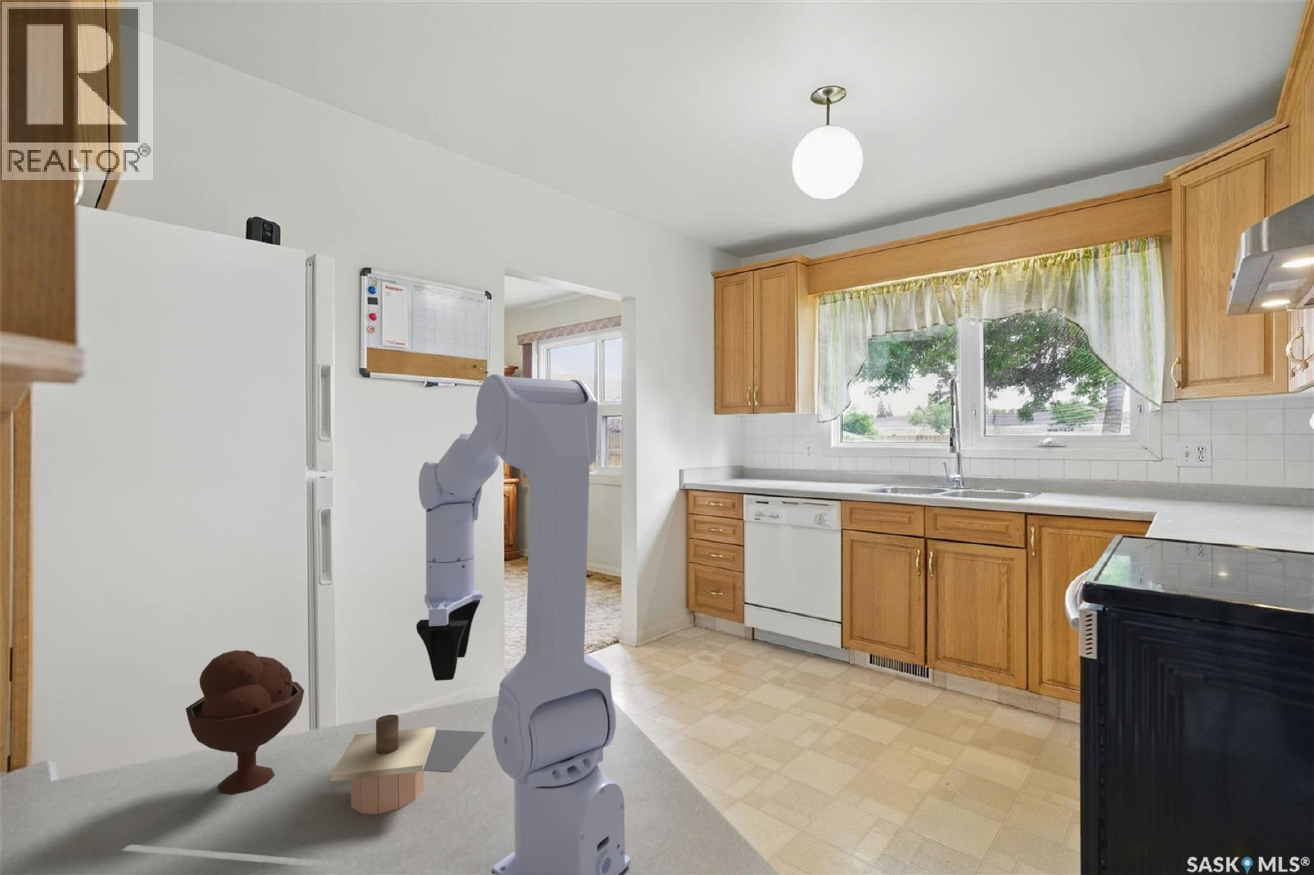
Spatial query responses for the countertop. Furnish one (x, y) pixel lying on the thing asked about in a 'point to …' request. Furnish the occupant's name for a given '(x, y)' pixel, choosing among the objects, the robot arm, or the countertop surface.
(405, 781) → the bowl
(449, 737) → the mat
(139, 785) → the countertop surface
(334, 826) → the countertop surface
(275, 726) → the ice cream bowl
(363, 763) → the cover
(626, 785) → the countertop surface
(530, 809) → the robot arm
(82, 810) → the countertop surface
